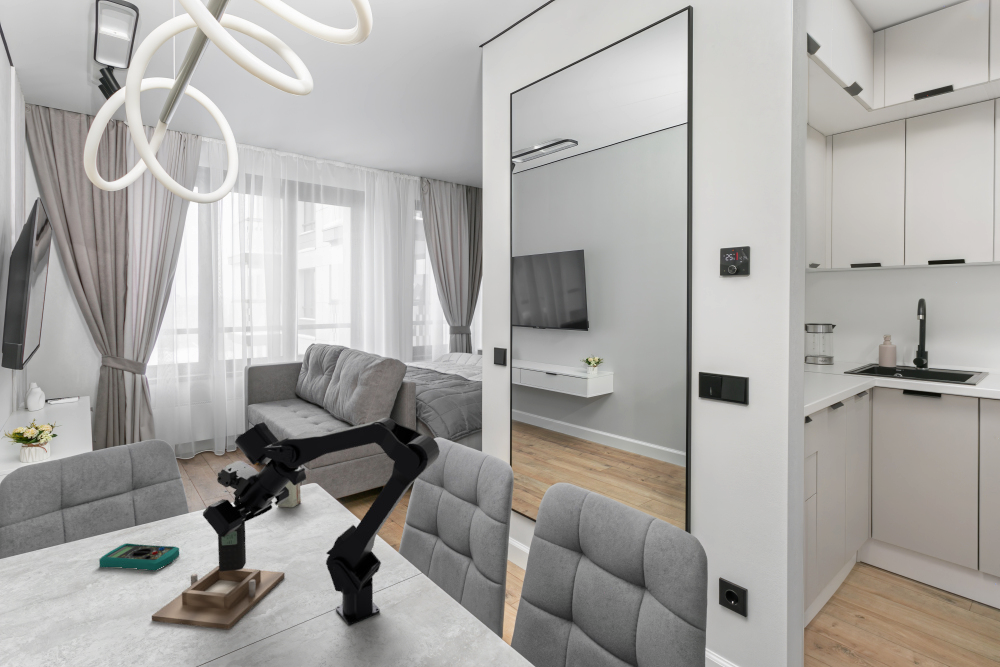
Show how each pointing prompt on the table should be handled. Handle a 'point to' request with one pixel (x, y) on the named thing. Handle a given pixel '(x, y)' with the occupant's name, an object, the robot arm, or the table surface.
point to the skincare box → (292, 496)
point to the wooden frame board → (219, 598)
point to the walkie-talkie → (232, 549)
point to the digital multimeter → (139, 556)
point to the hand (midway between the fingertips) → (226, 528)
